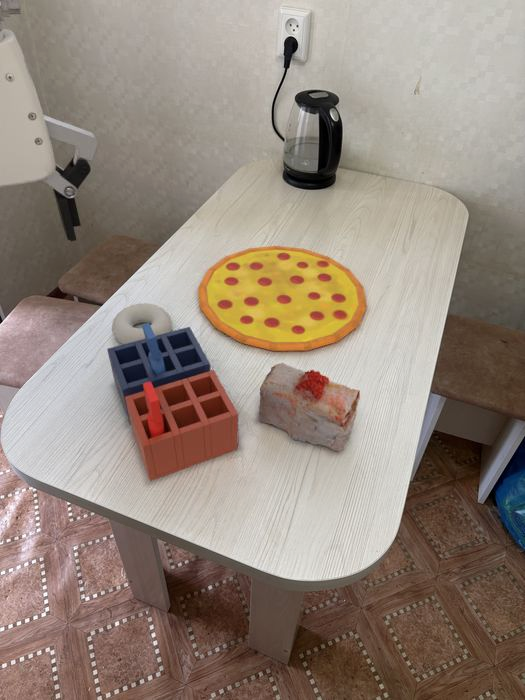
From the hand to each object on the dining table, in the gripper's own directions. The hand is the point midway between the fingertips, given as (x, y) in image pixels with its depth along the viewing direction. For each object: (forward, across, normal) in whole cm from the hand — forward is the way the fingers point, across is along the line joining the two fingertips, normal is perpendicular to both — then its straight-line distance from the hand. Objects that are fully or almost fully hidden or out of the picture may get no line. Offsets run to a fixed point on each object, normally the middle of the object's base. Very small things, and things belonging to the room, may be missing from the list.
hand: (13, 244), depth 44 cm
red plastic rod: (+33, -9, +4) cm, 35 cm away
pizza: (+34, -41, -23) cm, 58 cm away
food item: (+34, -30, +6) cm, 46 cm away
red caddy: (+34, -13, +2) cm, 37 cm away
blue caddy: (+34, -13, -8) cm, 38 cm away
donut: (+34, -14, -23) cm, 44 cm away
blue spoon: (+33, -13, -6) cm, 36 cm away
